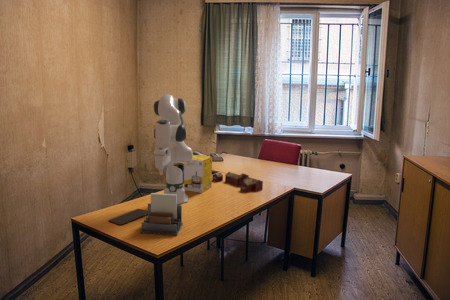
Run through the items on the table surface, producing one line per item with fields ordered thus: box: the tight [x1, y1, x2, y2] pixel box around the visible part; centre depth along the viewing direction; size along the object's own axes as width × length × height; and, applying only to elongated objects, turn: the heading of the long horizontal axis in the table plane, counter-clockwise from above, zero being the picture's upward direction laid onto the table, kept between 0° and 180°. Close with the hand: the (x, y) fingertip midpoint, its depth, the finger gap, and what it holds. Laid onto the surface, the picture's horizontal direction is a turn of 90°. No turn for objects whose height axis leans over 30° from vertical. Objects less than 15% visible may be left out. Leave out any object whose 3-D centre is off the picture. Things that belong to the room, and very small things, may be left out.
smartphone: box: [108, 208, 148, 227], centre depth 226 cm, size 12×2×25 cm
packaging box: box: [183, 154, 213, 194], centre depth 287 cm, size 16×16×25 cm
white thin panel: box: [150, 192, 178, 219], centre depth 213 cm, size 2×15×18 cm, turn 84°
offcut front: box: [149, 216, 171, 224], centre depth 206 cm, size 2×12×7 cm, turn 85°
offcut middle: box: [150, 212, 174, 222], centre depth 210 cm, size 2×13×8 cm, turn 84°
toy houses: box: [212, 171, 264, 193], centre depth 302 cm, size 45×21×10 cm, turn 43°
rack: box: [139, 202, 184, 237], centre depth 209 cm, size 15×21×12 cm
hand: (163, 173), depth 209 cm, fingers open, 8 cm apart
